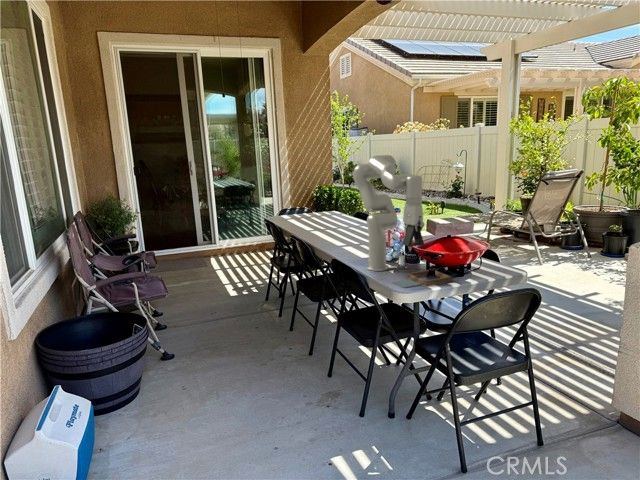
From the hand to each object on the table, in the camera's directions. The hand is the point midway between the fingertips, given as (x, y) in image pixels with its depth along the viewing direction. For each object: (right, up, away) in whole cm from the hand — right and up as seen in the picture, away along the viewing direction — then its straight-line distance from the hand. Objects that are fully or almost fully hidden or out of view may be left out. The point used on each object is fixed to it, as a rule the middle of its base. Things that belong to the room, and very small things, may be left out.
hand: (413, 237), depth 218 cm
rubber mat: (-3, -23, +3) cm, 24 cm away
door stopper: (0, -4, +1) cm, 4 cm away
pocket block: (+10, -22, +8) cm, 25 cm away
